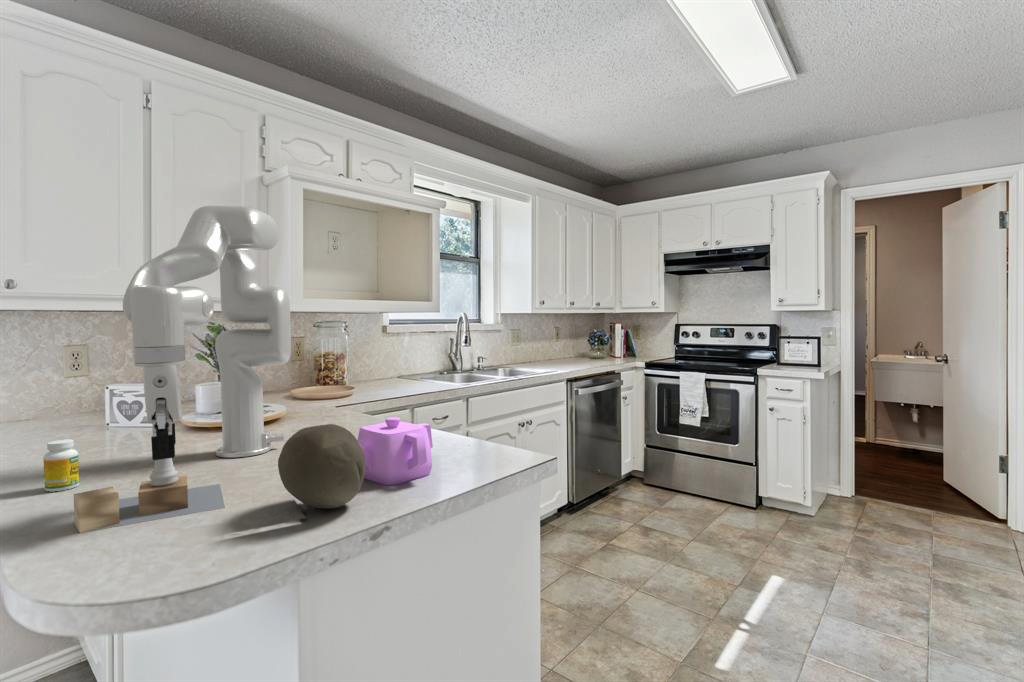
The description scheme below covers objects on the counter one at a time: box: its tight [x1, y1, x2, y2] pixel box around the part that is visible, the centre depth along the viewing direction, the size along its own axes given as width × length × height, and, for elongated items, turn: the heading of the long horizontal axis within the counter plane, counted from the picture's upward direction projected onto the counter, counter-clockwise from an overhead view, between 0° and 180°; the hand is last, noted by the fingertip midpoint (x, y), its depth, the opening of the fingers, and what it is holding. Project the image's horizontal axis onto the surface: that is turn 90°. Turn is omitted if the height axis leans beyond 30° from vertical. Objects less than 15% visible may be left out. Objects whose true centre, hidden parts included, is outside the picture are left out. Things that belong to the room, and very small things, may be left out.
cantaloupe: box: [277, 423, 366, 510], centre depth 92 cm, size 14×14×15 cm
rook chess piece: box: [148, 458, 179, 487], centre depth 92 cm, size 4×4×8 cm
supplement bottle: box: [43, 438, 80, 493], centre depth 106 cm, size 5×5×10 cm
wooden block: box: [137, 475, 189, 516], centre depth 92 cm, size 7×7×4 cm
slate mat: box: [78, 483, 226, 534], centre depth 93 cm, size 20×16×1 cm
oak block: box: [73, 486, 120, 534], centre depth 84 cm, size 5×5×5 cm
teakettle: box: [357, 416, 434, 486], centre depth 113 cm, size 17×17×12 cm
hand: (164, 451), depth 93 cm, fingers open, 9 cm apart
